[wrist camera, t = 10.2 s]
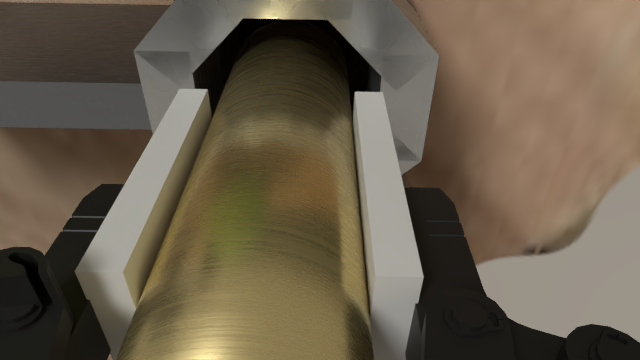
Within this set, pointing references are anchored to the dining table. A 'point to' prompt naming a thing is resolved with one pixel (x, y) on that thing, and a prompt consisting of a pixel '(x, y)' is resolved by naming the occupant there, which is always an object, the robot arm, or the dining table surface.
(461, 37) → the dining table surface
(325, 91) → the pin
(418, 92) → the hinge
